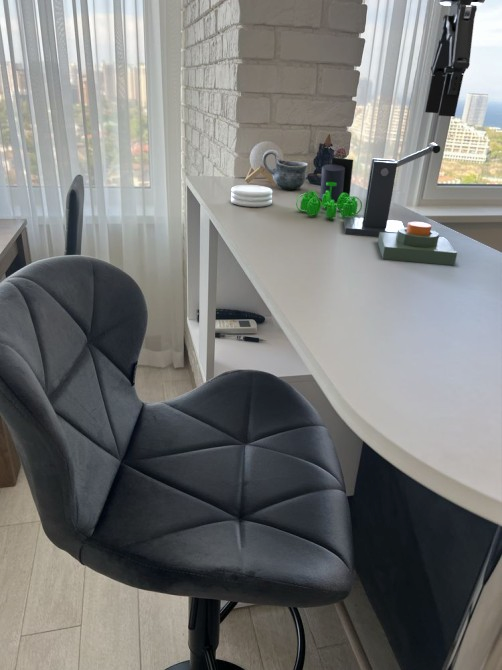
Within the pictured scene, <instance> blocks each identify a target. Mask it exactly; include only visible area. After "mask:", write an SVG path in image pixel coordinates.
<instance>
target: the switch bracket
mask: <svg viewBox="0 0 502 670" xmlns="http://www.w3.org/2000/svg"><path fill="white" fill-rule="evenodd" d="M385 161H388V162H385ZM395 161H396V160H395V159H389V158H375V157H372V158H371V163H370V164H371V165H370V169H369V170H370V171H369V178H368V184H367V190H366V198H365V204H364V210H363V217H355V216H354V217H352V216H351V217H344V218H343V230H344V234H345V235H353V236H354V235H355V236H356V235H357V236H366V237H376V238H377V237H378V238H379V232H386V233H397V230H398V229H399V228H402V227H405V226H404V225H403V222H402V221H400V220H389V215H390V210H391V204H392V199H393V198H392V197H393V192H394V186H395V180H396V174H397V168H398V167H397V162H395Z"/></svg>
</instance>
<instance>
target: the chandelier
mask: <svg viewBox="0 0 502 670" xmlns="http://www.w3.org/2000/svg"><path fill="white" fill-rule="evenodd" d="M336 184H337V183H334V182H327V183H326V185H328V186H330V193H329V191H326V192H325V194H323V197H322V199H320V197H319V195H318V194H317V192H316V191H314V190H308V191H306V192H305V193H301V194H300V195H299V196H298V197H297V198H296V201H295V205H296V206H295V207H296V208H297V210H298V212H301V213H304V214H307V216H308V217H311V218H314V217H316V216H318V214H319V213H320V211H321V207H323V208H324V210H325V211H326V212H325V217H327V218H328V219H329V220H330V221H332V220H333V219H334V218H336V216H337V210H338V211H339V214H340V215H341V217H342V218H343V219H344V217H354V218H355V216H356V215H358V214H359V213H360V212H361V211H362V208H363V203H362V200H361V199H360V197H358V196H353V195H352V196H351V195H350V197H349V194H347V193H342V194H341V195H340V196H339V198H338V201H337V202H334V200H331V190H332V186H336ZM346 195H347V197H346ZM300 198H301V200H300ZM299 200H300V206H298V201H299ZM358 201H359V202H360V208H359V210H358ZM299 207H300V208H299ZM357 210H358V211H357Z"/></svg>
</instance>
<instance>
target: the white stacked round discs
mask: <svg viewBox="0 0 502 670" xmlns="http://www.w3.org/2000/svg"><path fill="white" fill-rule="evenodd" d="M230 192H231V193H230V197H231V198H230V202H231V203H232V204H234V205H236V206H240V207H245V208H246V207H247V208H262V207H268V206H270V205H271V204H272V202H273V200H272V199H273V190H272V188H270V187H268V186H265V185H256V184H238V185H234V186H232V187H231V189H230Z"/></svg>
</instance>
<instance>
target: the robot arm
mask: <svg viewBox="0 0 502 670" xmlns="http://www.w3.org/2000/svg"><path fill="white" fill-rule="evenodd" d="M485 1H486V0H438V3H439V5H442V6H446V7H447V6H448V7H449V10H448V14H444V15H443V17H442V23H441V28H440V33H439V36H438V40H437V44H436V48H435V52H434V55H433V59H432V63H431V66H430V68H429V69H430V72H431V78H430V83H429V87H428V93H427V98H426V103H425V108H424V113H428V114H429V113H431V114H437V116H439V117H452V118H453V117H456V112H457V107H458V103H459V99H460V94H461V88H462V84H463V80H464V74H465V72H466V70H468V69H469V68H470V62H471V51H472V43H473V33H474V25H475V18H476V12H477V10H478V6H481V5H483V4H484V3H485Z"/></svg>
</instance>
